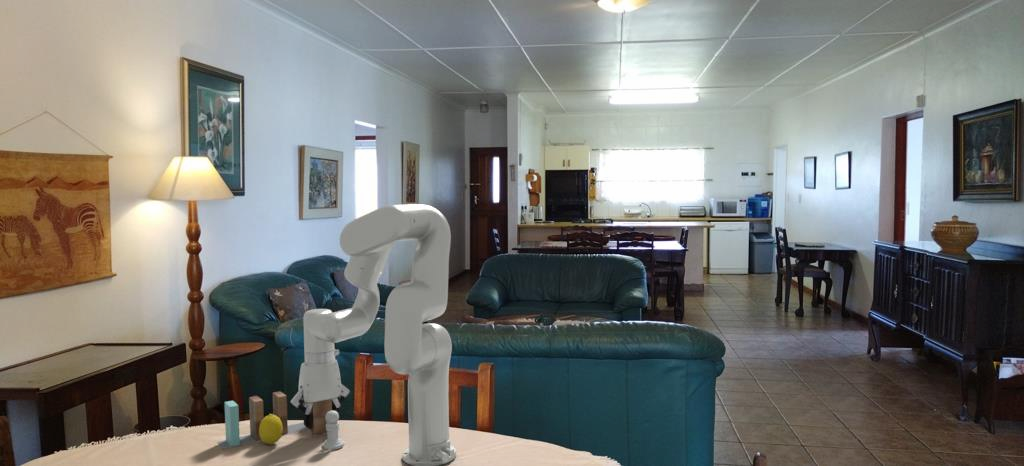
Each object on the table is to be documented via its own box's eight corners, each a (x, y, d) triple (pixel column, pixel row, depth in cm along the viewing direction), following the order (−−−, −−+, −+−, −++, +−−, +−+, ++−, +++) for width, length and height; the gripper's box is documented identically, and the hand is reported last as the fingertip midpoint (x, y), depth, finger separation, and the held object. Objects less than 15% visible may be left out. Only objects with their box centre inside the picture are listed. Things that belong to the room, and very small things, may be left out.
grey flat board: (333, 424, 175) (333, 423, 175) (223, 450, 157) (223, 449, 157) (324, 418, 180) (324, 417, 180) (217, 443, 162) (216, 442, 162)
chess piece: (320, 451, 156) (319, 414, 156) (324, 442, 162) (323, 407, 161) (342, 450, 157) (341, 413, 156) (346, 441, 162) (345, 406, 162)
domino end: (239, 444, 160) (238, 405, 160) (231, 446, 159) (229, 406, 158) (234, 438, 164) (232, 400, 164) (225, 440, 163) (224, 402, 162)
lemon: (275, 450, 157) (274, 418, 157) (254, 448, 158) (253, 416, 158) (287, 441, 163) (286, 410, 162) (267, 440, 164) (266, 409, 163)
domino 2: (287, 433, 168) (286, 395, 167) (280, 435, 166) (278, 397, 166) (281, 428, 172) (280, 391, 171) (273, 429, 170) (272, 392, 170)
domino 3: (329, 430, 170) (328, 393, 169) (332, 432, 168) (331, 395, 168) (311, 435, 167) (310, 397, 166) (313, 437, 165) (312, 399, 165)
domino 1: (264, 438, 164) (263, 400, 163) (256, 440, 163) (254, 402, 162) (258, 433, 168) (257, 395, 167) (250, 435, 167) (249, 397, 166)
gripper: (345, 349, 175) (346, 414, 176) (281, 359, 164) (283, 428, 165) (356, 354, 169) (358, 421, 170) (291, 365, 158) (293, 436, 159)
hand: (321, 424), depth 168 cm, fingers open, 6 cm apart
